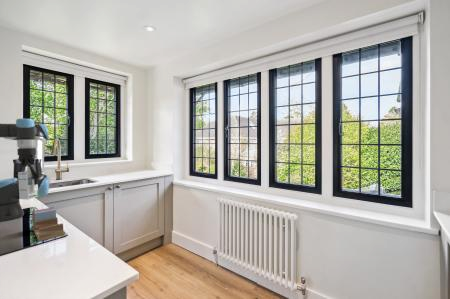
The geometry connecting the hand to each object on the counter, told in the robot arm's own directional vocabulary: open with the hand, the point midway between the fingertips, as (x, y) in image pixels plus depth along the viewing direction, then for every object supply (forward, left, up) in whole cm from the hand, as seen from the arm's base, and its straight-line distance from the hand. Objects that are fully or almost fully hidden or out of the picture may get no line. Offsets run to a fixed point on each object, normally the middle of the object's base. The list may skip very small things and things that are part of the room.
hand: (28, 190), depth 125 cm
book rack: (+9, +17, -19) cm, 27 cm away
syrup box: (0, 0, -4) cm, 4 cm away
